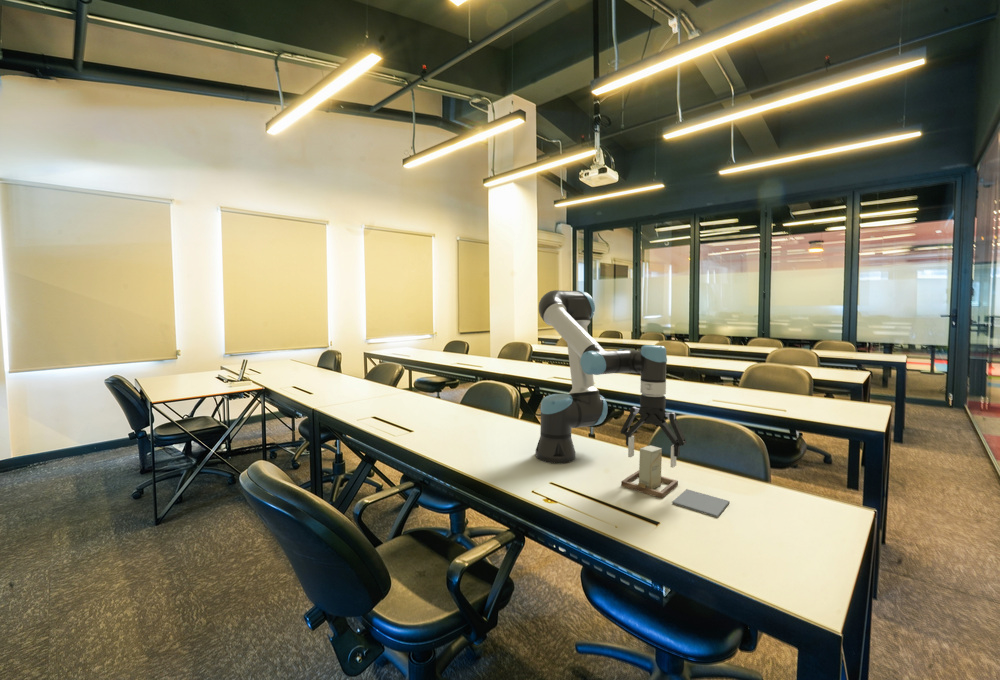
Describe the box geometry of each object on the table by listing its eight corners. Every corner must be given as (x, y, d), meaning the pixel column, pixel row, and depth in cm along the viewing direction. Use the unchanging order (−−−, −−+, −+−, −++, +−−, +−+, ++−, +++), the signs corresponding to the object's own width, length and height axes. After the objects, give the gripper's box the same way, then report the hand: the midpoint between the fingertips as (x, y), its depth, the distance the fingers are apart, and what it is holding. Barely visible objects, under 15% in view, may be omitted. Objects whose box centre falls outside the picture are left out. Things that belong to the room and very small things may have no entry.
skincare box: (650, 490, 130) (651, 452, 129) (637, 485, 133) (639, 448, 132) (661, 485, 133) (662, 448, 133) (648, 481, 137) (650, 444, 136)
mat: (672, 503, 121) (672, 501, 121) (686, 490, 129) (686, 489, 129) (717, 517, 113) (717, 515, 112) (729, 503, 121) (729, 501, 121)
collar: (621, 485, 133) (621, 478, 133) (638, 474, 142) (639, 467, 142) (662, 498, 124) (662, 490, 124) (677, 485, 134) (678, 478, 134)
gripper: (610, 391, 137) (609, 455, 138) (690, 401, 120) (688, 474, 121) (621, 388, 142) (620, 450, 143) (698, 398, 126) (696, 467, 127)
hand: (651, 461), depth 132 cm, fingers open, 13 cm apart
